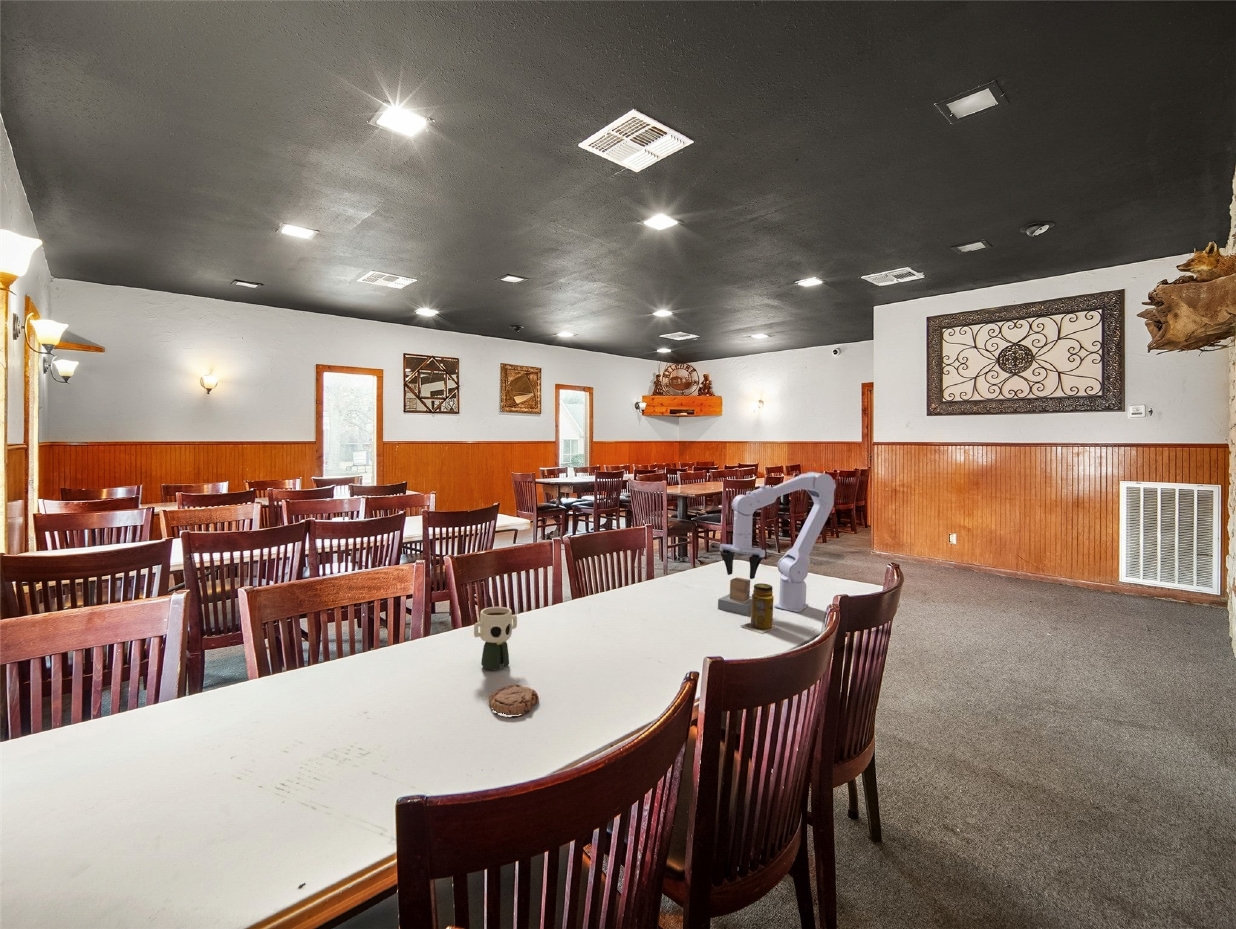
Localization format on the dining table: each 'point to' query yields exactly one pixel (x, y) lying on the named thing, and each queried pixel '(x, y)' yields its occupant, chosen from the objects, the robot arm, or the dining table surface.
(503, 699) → the cookie
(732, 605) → the slate base
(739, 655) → the dining table surface
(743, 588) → the walnut block
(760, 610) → the condiment
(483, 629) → the character mug
